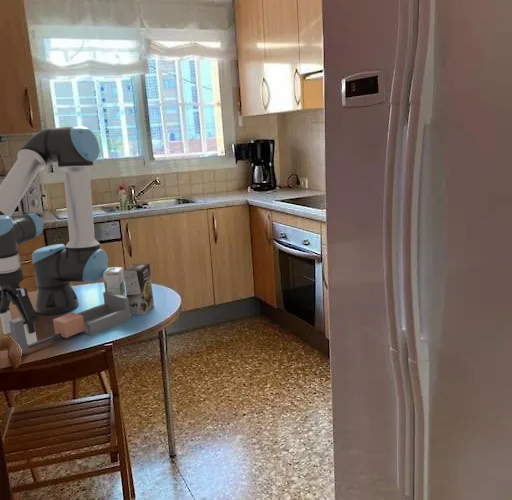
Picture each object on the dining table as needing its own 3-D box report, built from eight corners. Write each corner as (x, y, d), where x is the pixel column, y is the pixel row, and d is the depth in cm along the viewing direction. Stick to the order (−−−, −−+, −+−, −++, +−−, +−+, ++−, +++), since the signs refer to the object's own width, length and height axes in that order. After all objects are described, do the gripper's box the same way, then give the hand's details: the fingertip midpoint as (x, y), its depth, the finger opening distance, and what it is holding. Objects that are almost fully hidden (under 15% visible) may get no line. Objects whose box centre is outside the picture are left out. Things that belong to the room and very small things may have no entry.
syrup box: (111, 305, 203) (106, 267, 200) (127, 304, 203) (122, 266, 199) (107, 310, 198) (102, 272, 194) (123, 309, 198) (118, 271, 194)
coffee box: (145, 314, 192) (140, 270, 187) (127, 314, 193) (122, 270, 189) (154, 305, 200) (150, 262, 196) (138, 305, 201) (133, 262, 197)
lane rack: (69, 327, 184) (66, 305, 182) (109, 312, 195) (106, 291, 193) (90, 335, 176) (87, 312, 174) (130, 319, 188) (128, 297, 186)
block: (12, 350, 166) (6, 319, 163) (74, 326, 182) (70, 298, 179) (22, 355, 162) (16, 323, 159) (85, 330, 178) (80, 301, 175)
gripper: (-26, 266, 163) (-13, 332, 169) (16, 280, 148) (30, 352, 154) (-2, 260, 169) (11, 324, 175) (42, 272, 153) (54, 342, 159)
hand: (20, 337), depth 164 cm, fingers open, 13 cm apart
